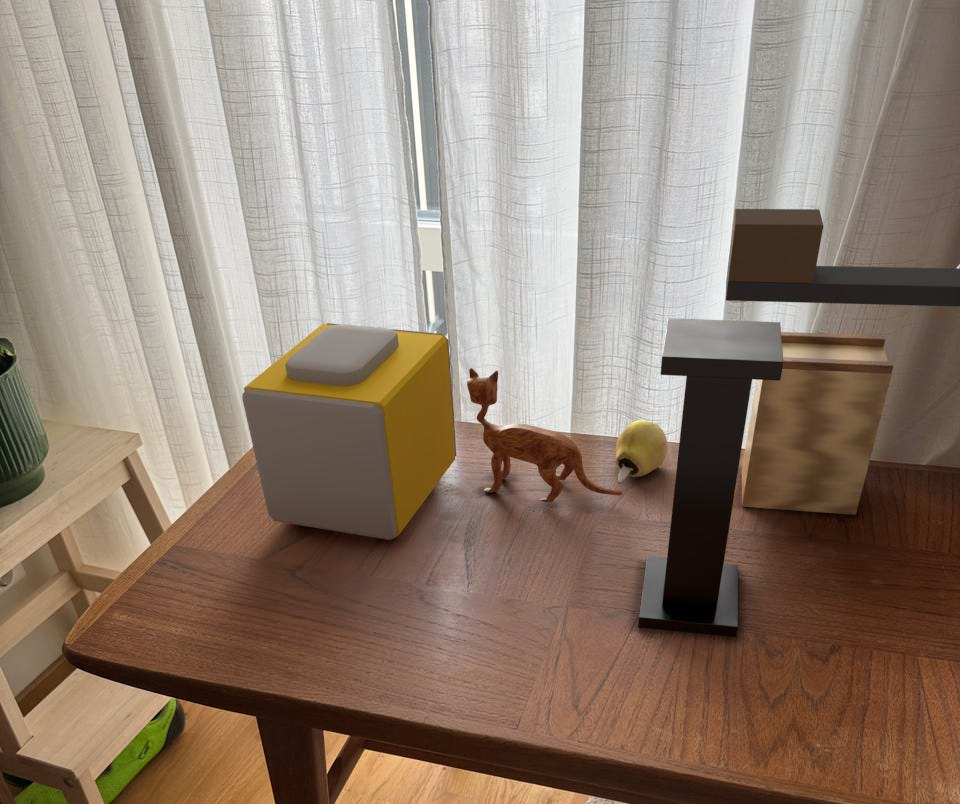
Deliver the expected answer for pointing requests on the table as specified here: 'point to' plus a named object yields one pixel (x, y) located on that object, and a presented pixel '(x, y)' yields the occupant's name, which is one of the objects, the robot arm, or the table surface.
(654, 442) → the fruit
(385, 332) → the alarm clock
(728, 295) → the dark bar with block
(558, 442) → the cat figurine
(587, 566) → the table surface
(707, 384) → the shelf stand
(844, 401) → the wavy wood-grain slab
